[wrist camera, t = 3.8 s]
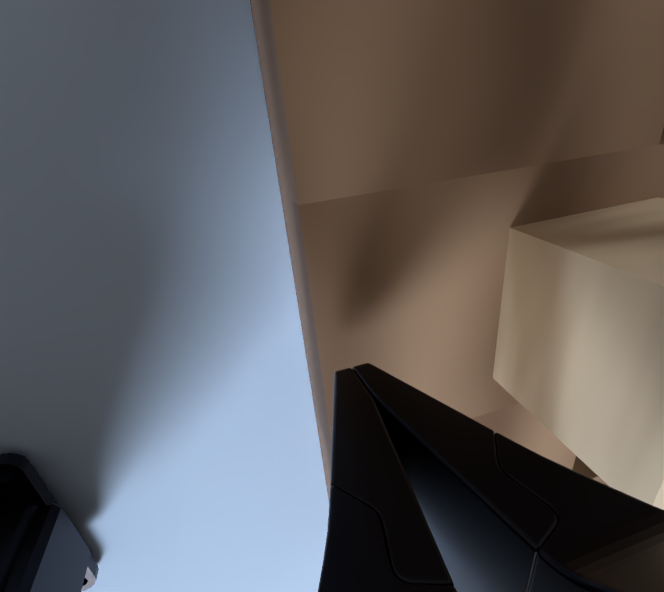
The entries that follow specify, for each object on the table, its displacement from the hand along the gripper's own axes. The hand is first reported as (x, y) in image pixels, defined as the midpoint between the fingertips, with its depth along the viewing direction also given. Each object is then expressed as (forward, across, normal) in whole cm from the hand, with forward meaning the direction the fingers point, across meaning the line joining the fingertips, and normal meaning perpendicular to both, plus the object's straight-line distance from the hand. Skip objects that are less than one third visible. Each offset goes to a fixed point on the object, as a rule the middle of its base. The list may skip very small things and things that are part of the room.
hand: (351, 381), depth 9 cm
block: (+1, -8, 0) cm, 8 cm away
